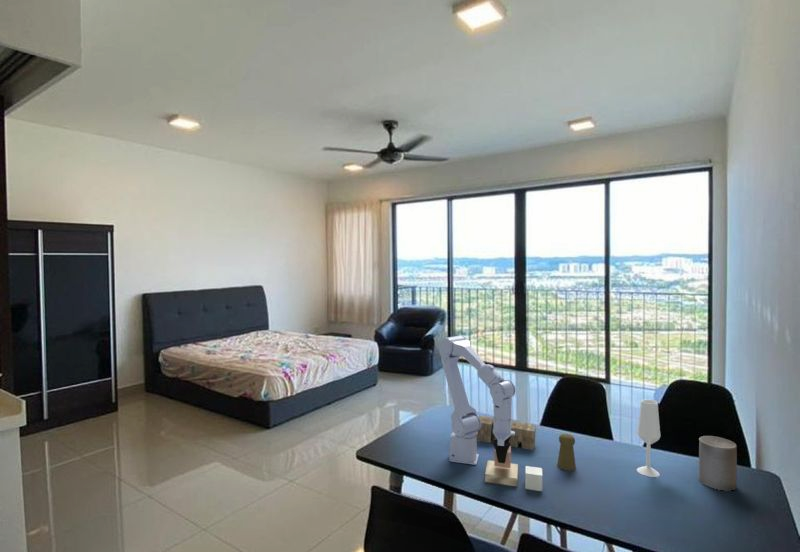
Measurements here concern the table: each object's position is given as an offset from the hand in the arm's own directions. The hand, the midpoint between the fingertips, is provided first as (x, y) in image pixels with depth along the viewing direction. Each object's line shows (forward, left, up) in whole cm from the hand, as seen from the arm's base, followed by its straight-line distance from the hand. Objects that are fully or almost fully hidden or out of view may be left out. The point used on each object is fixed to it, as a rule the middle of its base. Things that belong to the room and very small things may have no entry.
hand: (502, 458), depth 139 cm
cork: (+21, +14, -6) cm, 26 cm away
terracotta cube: (0, 0, -2) cm, 2 cm away
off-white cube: (+10, -3, -6) cm, 12 cm away
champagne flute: (+47, +18, -6) cm, 51 cm away
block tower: (-4, +29, -6) cm, 30 cm away
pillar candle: (+66, +16, -6) cm, 68 cm away
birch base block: (0, 0, -6) cm, 6 cm away
